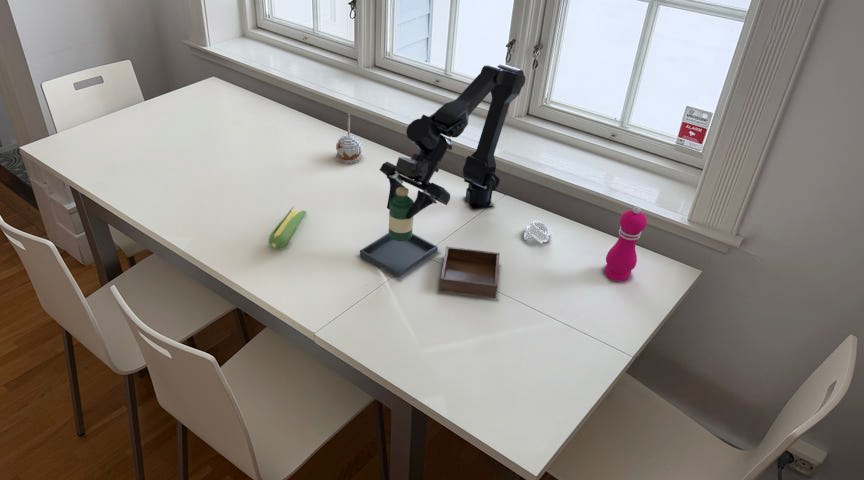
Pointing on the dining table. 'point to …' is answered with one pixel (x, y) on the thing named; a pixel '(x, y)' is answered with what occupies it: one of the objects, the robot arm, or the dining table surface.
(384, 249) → the tray
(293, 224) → the edible corn
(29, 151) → the dining table surface
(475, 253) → the crate
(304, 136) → the dining table surface
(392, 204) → the bottle
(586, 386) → the dining table surface
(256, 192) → the dining table surface
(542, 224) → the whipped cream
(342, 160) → the decorative ornament
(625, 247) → the pepper mill
